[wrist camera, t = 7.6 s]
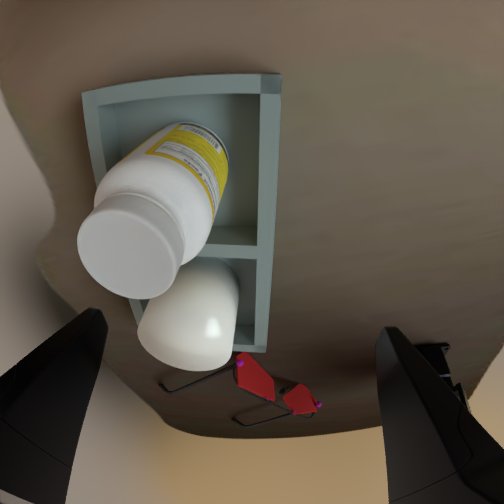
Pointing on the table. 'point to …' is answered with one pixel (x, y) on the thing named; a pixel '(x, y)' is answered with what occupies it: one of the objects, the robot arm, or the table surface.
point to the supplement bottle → (154, 210)
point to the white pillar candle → (193, 317)
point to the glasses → (262, 388)
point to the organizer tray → (239, 177)
